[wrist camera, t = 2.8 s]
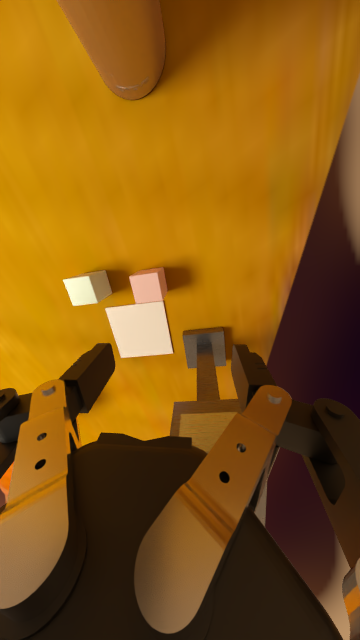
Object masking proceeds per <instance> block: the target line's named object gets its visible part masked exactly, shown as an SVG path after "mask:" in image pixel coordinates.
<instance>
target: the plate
mask: <svg viewBox="0 0 360 640" xmlns="http://www.w3.org/2000/svg"><path fill="white" fill-rule="evenodd" d="M105 309H106V312H107V315H108V318H109V322H110V325H111V328H112V331H113V334H114V337H115V340H116V343H117V346H118V349H119V352H120V355H121V358H124V357H136V356H147V355H159V354H171V353H173V349H172V344H171V339H170V334H169V329H168V324H167V318H166V313H165V308H164V303H163V301H157V302H149V303H141V304H133V305H125V306H117V307H109V308H105Z"/></svg>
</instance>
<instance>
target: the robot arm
mask: <svg viewBox="0 0 360 640" xmlns="http://www.w3.org/2000/svg"><path fill="white" fill-rule="evenodd" d="M57 1H58V3H59V5H60V7H61V8H62V10H63V12H64V13H65V15H66V17H67V19H68V20H69V22H70V24H71V25H72V27H73V29H74V31H75V32H76V34H77V36H78V37H79V39H80V41H81V43H82V44H83V46H84V48H85V49H86V51H87V53H88V55H89V56H90V58H91V60H92V62H93V63H94V65H95V67H96V68H97V70H98V72H99V73H100V75H101V77H102V79H103V80H104V82H105V83H106V85H107V86H108V87H109V88H110V90H111V91H113V92H114V93H115V94H116V95H118V96H120V97H122V98H124V99H129V100H135V99H139V98H142V97H144V96H146V95H147V94H148V93H149V92H150V91H151V90H152V89H153V88H154V87H155V85H156V84H157V82H158V80H159V78H160V76H161V73H162V70H163V67H164V61H165V55H166V42H165V34H164V27H163V21H162V14H161V8H160V0H57ZM114 370H115V360H114V355H113V351H112V346H111V344H110V343H98V344H96V345H95V347H94V348H93V349H92V350H91V351H88V352H86V353H85V354H83V355H82V356H81V357H80V358H79V359H78V360H77V361H76V362H75V363H74V364H73V366H71V367H70V368H69V369H68V370H67V371H66V372H65V373H64V374H63V375H62V376H61V377H60V378H59V379H58V380H51V381H48V382H45V383H43V384H42V385H40V386H38V387H37V388H36V389H35V390H34V391H33V393H29V394H24V395H19V396H18V394H17V392H16V390H15V389H13V388H7V389H2V390H0V478H1V477H2V476H3V475H4V473H5V472H6V471H7V469H8V468H9V467H10V465H11V464H12V463H13V462H14V466H13V472H12V477H11V483H10V489H9V495H8V500H7V503H6V504H5V505H3V506H2V507H1V508H0V640H343V638H342V637H341V635H340V633H339V631H338V629H337V628H336V626H335V624H334V623H333V621H332V619H331V618H330V616H329V615H328V613H327V612H326V610H325V609H324V607H323V606H322V605H321V603H320V602H319V600H318V599H317V598H316V596H315V595H314V594H313V592H312V591H311V590H310V588H309V587H308V585H307V584H306V583H305V581H304V580H303V579H302V577H301V576H300V575H299V573H298V572H297V570H296V569H295V568H294V567H293V565H292V564H291V562H290V561H289V560H288V558H287V557H286V555H285V554H284V553H283V552H282V550H281V549H280V547H279V546H278V544H277V543H276V542H275V540H274V539H273V538H272V536H271V535H270V534H269V532H268V531H267V529H266V528H265V527H264V525H263V524H262V523H261V521H260V520H259V519H258V517H257V516H256V514H255V512H256V509H257V507H258V504H259V502H260V499H261V496H262V493H263V490H264V487H265V484H266V481H267V478H268V476H269V473H270V471H271V468H272V465H273V463H274V461H275V458H276V455H277V453H278V450H279V448H280V447H282V448H285V449H288V450H291V451H293V452H296V453H299V454H302V456H303V459H304V461H305V463H306V466H307V468H308V470H309V473H310V475H311V477H312V480H313V482H314V484H315V486H316V489H317V491H318V494H319V496H320V498H321V501H322V503H323V505H324V508H325V510H326V512H327V514H328V517H329V519H330V522H331V524H332V526H333V529H334V531H335V533H336V535H337V538H338V540H339V543H340V545H341V547H342V550H343V552H344V554H345V556H346V559H347V561H348V564H349V566H350V568H351V569H350V570H349V572H348V573H347V574H346V575H345V576H344V579H343V584H342V590H343V591H342V592H343V598H344V602H345V605H346V609H347V613H348V616H349V622H350V640H360V420H359V419H358V418H357V417H356V415H355V414H354V413H353V412H352V411H351V410H350V409H349V408H347V407H346V406H344V405H343V404H341V403H339V402H336V401H334V400H331V399H323V398H322V399H318V400H316V401H315V402H314V405H309V404H306V403H302V402H298V401H295V400H292V399H291V397H290V395H289V394H288V393H287V392H286V391H285V390H283V389H282V388H279V387H277V385H276V383H275V381H274V380H273V378H272V376H271V374H270V372H269V370H268V369H267V367H266V365H265V363H264V361H263V359H262V358H261V357H260V356H259V355H258V354H256V353H250V352H249V350H248V347H247V345H243V344H234V345H233V351H232V363H231V371H232V377H233V381H234V384H235V388H236V392H237V396H238V400H239V403H240V407H241V411H242V414H240V413H237V414H236V415H235V416H234V417H233V419H232V420H231V421H230V423H229V424H228V426H227V427H226V429H225V430H224V431H223V433H222V434H221V436H220V437H219V438H218V440H217V441H216V443H215V444H214V446H213V447H212V448H211V450H210V451H209V453H206V452H205V451H203V450H201V449H199V448H197V447H195V446H192V437H176V436H167V437H162V438H157V439H152V440H147V441H142V440H139V439H136V438H133V437H131V436H128V435H125V434H118V433H101V434H100V436H99V438H98V440H97V441H95V442H92V443H89V444H86V445H84V446H82V445H81V438H80V431H79V424H78V419H77V415H78V414H79V413H89V411H90V409H91V408H92V406H93V404H94V403H95V401H96V400H97V398H98V396H99V395H100V393H101V392H102V390H103V388H104V387H105V385H106V384H107V382H108V380H109V379H110V377H111V376H112V374H113V372H114Z"/></svg>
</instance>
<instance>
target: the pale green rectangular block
mask: <svg viewBox="0 0 360 640" xmlns="http://www.w3.org/2000/svg"><path fill="white" fill-rule="evenodd" d="M63 281H64V284H65V286H66V289H67V291H68V294H69V296H70V299H71V301H72V304H73V306H77V305H84V304H92V303H98V302H100V301H101V300H103V299H104V298H106V297H107V296H109V295H111V294H112V290H111V287H110V284H109V280H108V277H107V274H106V270H104V271H97V272H91V273H84V274H80V275H77V276H74V277H71V278H67V279H64V280H63Z"/></svg>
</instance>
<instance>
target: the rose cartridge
mask: <svg viewBox="0 0 360 640" xmlns="http://www.w3.org/2000/svg"><path fill="white" fill-rule="evenodd" d="M129 278H130V282H131V286H132V290H133V294H134V298H135V302H136V304H139V303H147V302H155V301H163V299H164V297H165V295H166V293H167V292H168V290H167V284H166V279H165V273H164V268H163V267H161V268H154V269H148V270H141V271H138V272H136V273H135V274H133V275H131V276H129Z"/></svg>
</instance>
